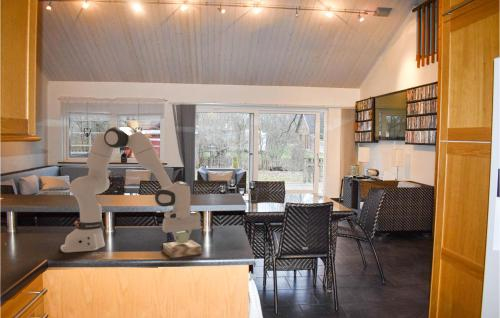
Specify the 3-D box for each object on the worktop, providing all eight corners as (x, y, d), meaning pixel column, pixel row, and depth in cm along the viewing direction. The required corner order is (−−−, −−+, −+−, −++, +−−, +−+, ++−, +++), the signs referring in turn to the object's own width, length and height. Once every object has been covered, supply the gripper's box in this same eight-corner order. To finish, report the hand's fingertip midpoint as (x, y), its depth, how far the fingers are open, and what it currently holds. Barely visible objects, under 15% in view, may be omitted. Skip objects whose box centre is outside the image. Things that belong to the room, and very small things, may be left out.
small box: (167, 244, 237) (167, 225, 236) (166, 241, 243) (166, 223, 242) (186, 243, 240) (186, 224, 239) (185, 240, 246) (185, 222, 245)
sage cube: (179, 243, 218) (179, 234, 218) (175, 241, 223) (175, 232, 222) (188, 242, 221) (188, 233, 220) (184, 240, 225) (184, 230, 225)
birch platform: (171, 257, 212) (171, 250, 212) (163, 250, 224) (163, 243, 224) (201, 253, 220) (201, 246, 220) (191, 246, 232) (191, 239, 232)
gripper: (198, 210, 228) (198, 235, 229) (161, 213, 218) (161, 239, 219) (202, 212, 223) (202, 237, 224) (165, 215, 213) (165, 242, 214)
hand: (181, 238), depth 222 cm, fingers closed on sage cube, 5 cm apart
